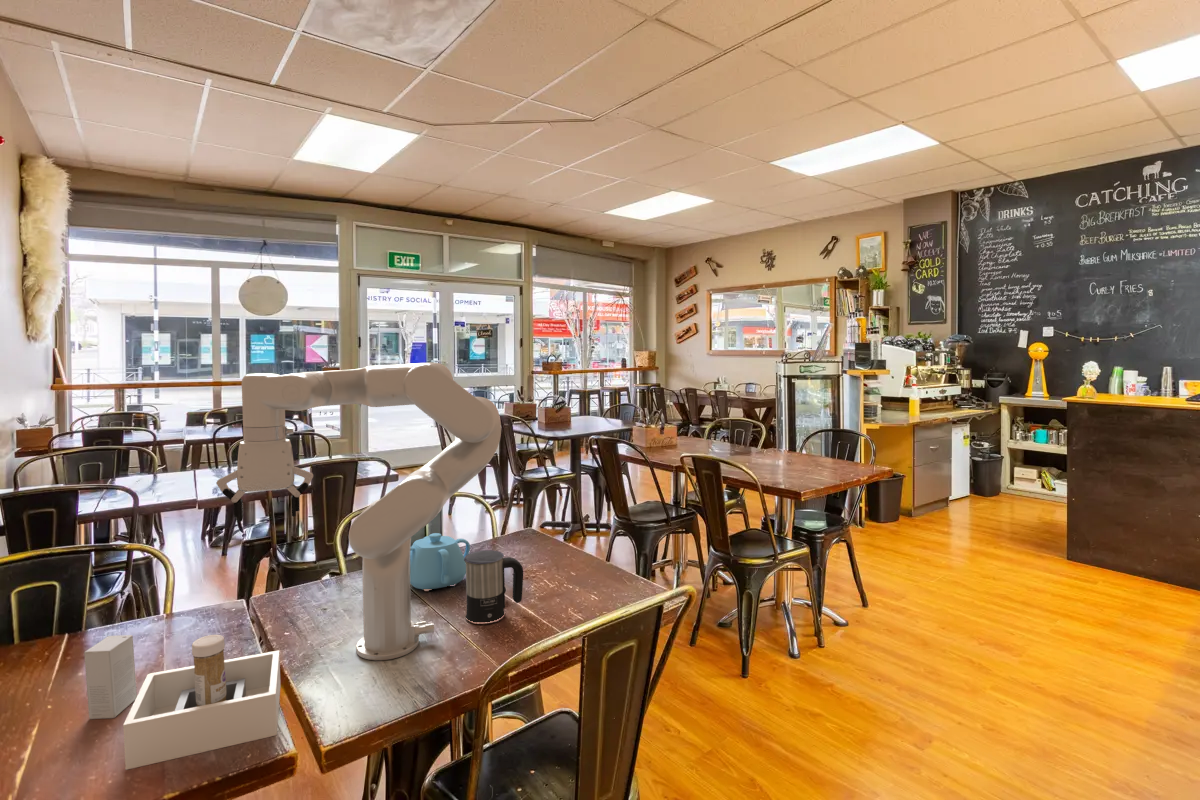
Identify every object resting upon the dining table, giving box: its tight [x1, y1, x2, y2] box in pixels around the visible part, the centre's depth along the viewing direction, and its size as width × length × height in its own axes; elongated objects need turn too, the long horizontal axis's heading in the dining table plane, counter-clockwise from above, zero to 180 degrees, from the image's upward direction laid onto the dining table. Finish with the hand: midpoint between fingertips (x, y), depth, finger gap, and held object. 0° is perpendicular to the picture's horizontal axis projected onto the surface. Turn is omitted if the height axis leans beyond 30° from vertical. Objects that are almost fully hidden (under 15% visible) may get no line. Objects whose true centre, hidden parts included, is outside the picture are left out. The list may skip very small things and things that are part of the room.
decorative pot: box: [410, 532, 471, 590], centre depth 166 cm, size 16×16×14 cm
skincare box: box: [83, 634, 138, 720], centre depth 107 cm, size 6×4×12 cm
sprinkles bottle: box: [191, 634, 226, 707], centre depth 103 cm, size 5×5×14 cm
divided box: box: [122, 650, 281, 771], centre depth 103 cm, size 20×16×7 cm
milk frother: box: [464, 549, 524, 622], centre depth 149 cm, size 14×16×15 cm
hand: (267, 517), depth 126 cm, fingers open, 9 cm apart
